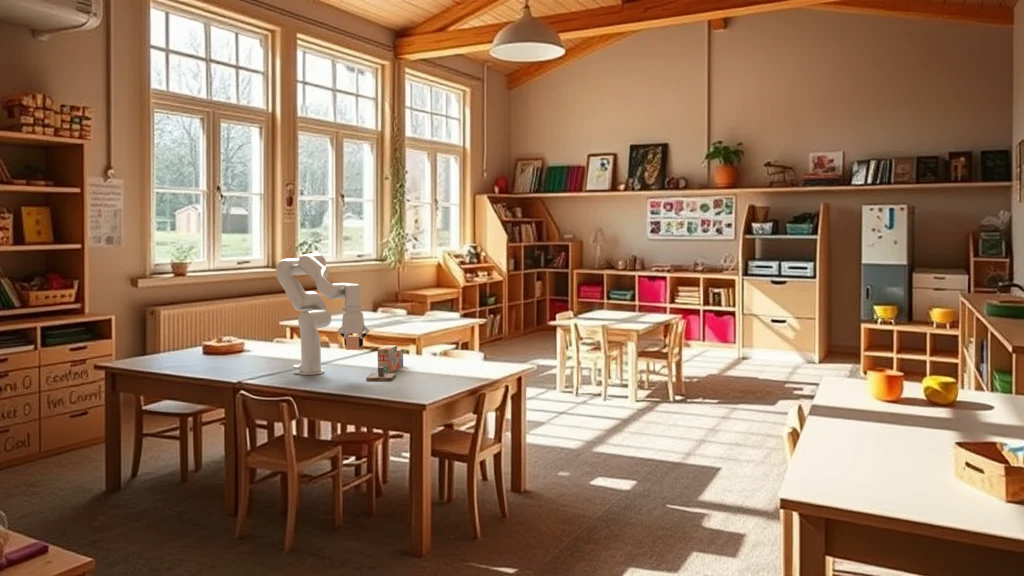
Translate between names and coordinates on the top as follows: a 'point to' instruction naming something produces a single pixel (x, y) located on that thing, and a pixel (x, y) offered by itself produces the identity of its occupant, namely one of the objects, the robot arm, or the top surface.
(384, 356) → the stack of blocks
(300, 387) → the top surface
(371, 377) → the base plate
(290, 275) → the robot arm
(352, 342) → the reddish brown cube
